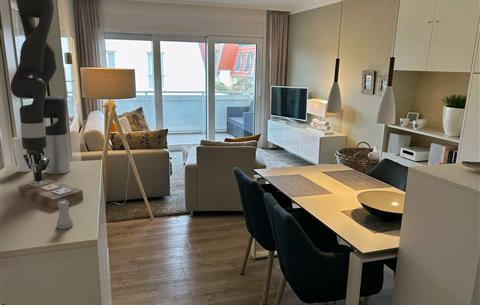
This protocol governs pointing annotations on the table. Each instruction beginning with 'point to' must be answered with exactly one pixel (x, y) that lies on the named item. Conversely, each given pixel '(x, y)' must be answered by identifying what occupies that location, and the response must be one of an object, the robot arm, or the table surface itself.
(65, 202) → the rook chess piece
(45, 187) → the one-pip button
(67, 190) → the two-pip button
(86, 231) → the table surface
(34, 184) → the three-pip button
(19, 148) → the drinking glass
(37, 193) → the button panel
